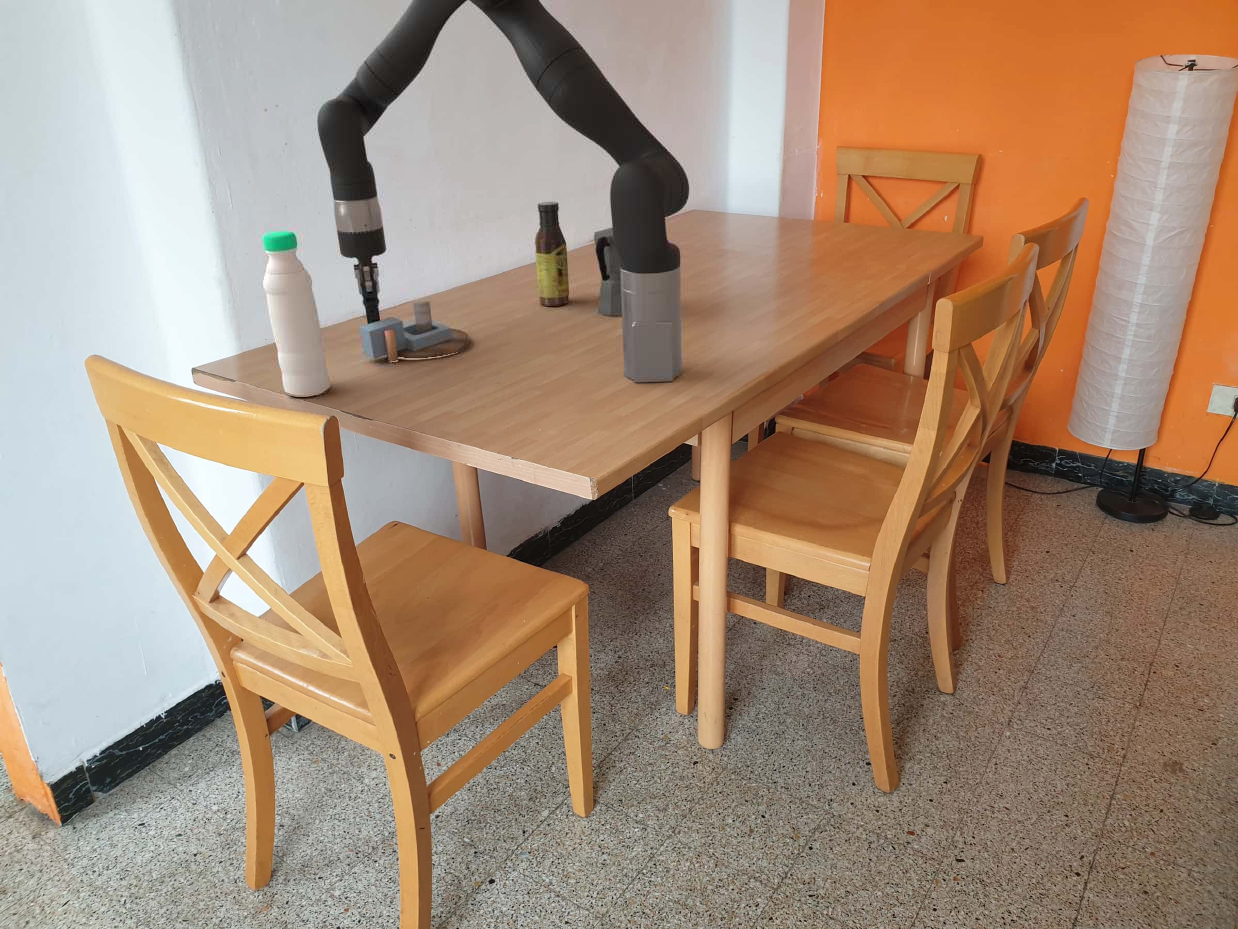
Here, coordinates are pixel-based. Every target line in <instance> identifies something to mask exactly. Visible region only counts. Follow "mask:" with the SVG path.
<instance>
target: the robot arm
mask: <svg viewBox="0 0 1238 929" xmlns="http://www.w3.org/2000/svg"><path fill="white" fill-rule="evenodd" d="M467 1H468V0H411V2H410V4H409V5H408V7H407V9H406V10H405V11H404V13H403V14H402V15H401V17H400V18H399V20H398V21H397V23H396V24H395V25H394V26H393V28H392V29H391V30H390V31H389V32H388V34H387V35H386V36H385V37H384V39H382V41H381V42H380V43H379V44H378V45H377V46H376V47H375V48H374V50H373V51H372V52H370V54H369V55H368V56H367V57H366V58H365V60H364V61H363V62H362V64H361V65H360V66H359V68H358V69H357V70H356V74H355V77H354V78H353V79H352V80H351V81H350V82H349V83H348V84H347V85H346V87H345V88H344V89H343V90H342V91H341V92H340V93H339V94H338V95H337V96H336V97H335V98H332V99H329V100H327V101H326V102H324V103H323V104H322V105H321V107H320V109H319V110H318V113H317V120H316V121H317V122H316V123H317V131H318V137H319V141H320V146H321V148H322V151H323V154H324V158H325V161H326V164H327V167H328V170H329V174H330V175H329V177H330V185H331V192H332V197H333V211H334V220H335V227H336V228H335V229H336V233H337V240H338V244H339V245H338V246H339V252H340V255H341V256H342V257H345V258H348V259H349V258H350V259H354V258H355V259H356V260H357V263H356V264H353V271H354V272H353V273H354V277H355V279H356V280H357V281H356V282H357V286H358V292H359V295H361V297H362V305H363V307H364V310H365V317H366V322H367V324H370V323H374V322H377V321H380V320H381V316H380V310H379V305H380V299H379V297H378V295H379V294H380V292H381V291H380V284H379V277H380V274H379V273H380V271H379V265H378V261H377V262H373V260H372V259H373V257H375V256H376V257H378V256H381V255H383V254H384V253H385V252H387V245H386V238H385V231H384V224H383V215H382V208H381V205H380V203H379V197H378V192H377V191H378V190H377V184H376V177H375V176H376V175H375V172H374V168H373V166H372V163H371V162H370V161H369V160H368V157H367V155H368V154H367V149H366V144H365V136H366V135H367V134H368V133H369V132H370V130H372V128H373V127H374V126H375V125H376V123H378V120H380V119H381V117H382V116H383V114H384V113H385V112H386V110H387V109H388V107H389V106H390V105H391V104H392V103H393V102H394V101H395V100H397V99H398V98H399V96H401V95H402V93H403V92H405V90H406V89H407V88H408V87H409V86H410V85H411V84H412V83H413V81H414V80H415V79H416V78H417V77H418V75H419V74H420V73H421V71H422V70H423V69H424V67H425V65H426V64H427V62H428V59H429V58H430V56H431V53H432V50H433V48H434V47H435V44H436V42H437V39H438V37H439V36H440V33H441V31H442V30H443V28H444V26H445V25H446V23H447V22H448V21H449V19H450V18H451V17H452V15H453V14H454V13H455V12H457V10H458V9H459V8H460V7H461V6H462V5H464V3H466V2H467ZM469 2H471V3H472V4H473V5H475V6H476V7H477V8H478V9H479V10H480V11H482V13H483V14H484V15H486V16H487V17H488V19H489V20H490V21H491V22H492V23H493V24H494V25H495V26H496V27H497V28H498V29H499V31H501V33H502V34H503V35H504V36H505V37H506V39H507V40H508V42H509V43H510V45H511V46H512V48H513V50H514V52H515V54H516V56H517V58H518V60H519V62H520V64H521V66H522V68H523V71H524V72H525V74H526V76H527V77H528V79H529V80H530V82H531V84H532V85H533V87H534V88H535V90H536V91H537V92H538V94H539V95H540V96H541V97H542V99H543V100H544V102H545V103H546V104H547V106H548V107H549V108H550V109H551V110H552V111H553V113H554V114H555V115H556V116H557V117H558V118H559V119H560V120H561V121H562V122H564V123H565V124H567V125H568V126H569V127H571V128H572V129H573V130H575V131H576V132H578V133H579V134H580V135H582V136H584V137H586V138H587V139H588V140H590V141H591V142H593V143H595V144H596V145H597V146H599V147H600V148H601V149H603V151H605V152H606V153H607V154H608V155H609V156H610V157H611V159H613V160H614V162H615V163H616V164H617V165H618V166H619V167H617V169H616V170H615V172H614V174H613V175H612V176H613V177H612V180H611V182H610V191H609V193H610V194H609V199H610V200H609V202H610V214H611V226H612V227H613V239H614V245H615V248H616V251H617V253H618V255H619V258H620V273H621V301H622V317H621V318H622V322H621V323H622V324H621V325H622V345H623V347H622V348H623V364H624V366H623V367H624V368H623V369H624V376H626V377H627V378H628V379H631V380H632V381H633V383H654V382H655V383H656V382H658V383H659V382H674V379H675V378H678V377H679V376H680V375H681V374H682V363H683V362H682V361H683V360H682V359H683V358H682V353H683V352H682V308H681V307H682V304H681V303H682V302H681V301H682V298H681V297H682V292H681V288H682V287H681V285H682V284H681V283H682V282H681V281H682V280H681V279H682V278H681V277H682V276H681V251H680V248H679V246H677V245H676V244H675V243H672V242H669V240H668V237H667V227H666V226H667V225H666V224H667V223H666V218H668V217H671V216H673V215H675V214H676V213H679V212H680V211H681V210H683V208H684V207H685V206H686V205H687V203H688V200H689V197H690V184H689V183H690V182H689V180H688V176H687V174H686V172H685V169H684V168H683V166H682V164H681V163H680V161H678V159H676V158H675V156H674V155H673V154H672V153H671V152H670V151H669V150H668V149H667V148H666V147H665V146H664V144H662V143H661V142H660V141H659V140H658V139H657V138H656V136H654V134H652V133H651V131H649V129H648V128H647V127H646V126H645V124H643V123H642V122H641V120H640V119H639V118H638V117H637V116H636V115H635V113H634V112H633V110H632V109H631V107H629V105H628V104H627V103H626V101H625V100H624V98H622V97H621V95H620V94H619V93H618V91H617V90H616V89H615V87H614V86H613V85H612V84H611V83H610V81H609V80H608V78H606V76H605V75H604V73H603V72H602V70H601V69H600V68H599V67H598V65H597V63H596V62H595V61H594V60H593V59H592V57H591V56H590V55H589V53H588V52H587V51H586V50H585V48H584V47H583V46H582V45H581V44H580V42H579V41H578V40H577V39H576V38H575V37H574V36H573V35H572V34H571V32H570V31H568V29H567V28H566V27H565V26H564V25H563V24H562V23H560V21H558V20H557V19H556V18H555V17H554V16H553V14H551V13H550V12H549V11H548V10H547V9H546V8H545V6H544V5H543V3H542V2H541V1H540V0H469ZM612 227H611V228H612Z"/></svg>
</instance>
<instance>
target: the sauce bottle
mask: <svg viewBox="0 0 1238 929" xmlns="http://www.w3.org/2000/svg"><path fill="white" fill-rule="evenodd" d="M559 210H560V207H559V202H557V201H543V202H539V203H537V211H538V213H539V214H538V215H539V217H538V218H539V228H538V232H536V235H535V238H534V239H535V241H534V244H535V264H536V265H535V266H536V279H537V281H536V282H537V293H538V294H537V295H538V298H539V299H538V301H539V304H540V305H542V306H545V307H557V306H562V305H566V304H567V303H568V302H569V300H570V298H569V296H570V284H569V281H570V280H569V268H568V266H569V265H568V253H567V252H568V248H567V242H566V238H565V236H564V233H563V232H562V230H561V226H560V222H559Z"/></svg>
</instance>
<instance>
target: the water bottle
mask: <svg viewBox="0 0 1238 929" xmlns="http://www.w3.org/2000/svg"><path fill="white" fill-rule="evenodd" d="M262 245H263V248H264V250H265V253H266V254H267V255H268V256H269V258H268V262H267V265H266V271H265V274H264V277H263V282H262V285H263V290H264V291H265V293H266V299H267V300H266V301H267V309H268V314H269V319H270V325H271V329H272V330H271V331H272V334H273V337H274V341H275V344H276V345H275V346H276V348H277V358H278V364H279V367H280V370H281V376H282V377H281V378H282V385H283V391H284V390H285V391H284V393H285V392H287V393H290V394H294V395H311V394H317V393H321V392H323V391H325V390H327V389H328V388H329V389H330V387H331V380H330V376H329V371H328V368H327V366H326V365H327V364H326V363H327V362H326V361H327V360H326V354H325V349H324V346H323V344H322V332H321V327H320V326H321V325H320V320H319V314H318V309H317V304H316V300H315V299H316V298H315V297H314V296H315V295H314V292H313V288H312V286H313V279H312V277H311V275H310V273H309V272H308V270H307V269H306V268H305V267H304V264H303V262H302V261H301V260H300V259H299V258H298V256H297V253H296V252H297V251H298V240H297V236H296V234H295V233H294V232H292V231H286V230H283V231H282V230H281V231H273V232H269V233H266V234H264V235H263V236H262ZM329 389H328V390H329ZM328 390H327V391H328Z"/></svg>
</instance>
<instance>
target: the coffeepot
mask: <svg viewBox="0 0 1238 929" xmlns="http://www.w3.org/2000/svg"><path fill="white" fill-rule="evenodd" d="M593 239H594V243H595V254H596V258H597V262H598V267H599V272H600V277H601V279H600V281H601V282H600V291H599V299H598V309H597V313H599V314H600V315H602V316H607V317H613V318H614V317H615V318H616V317H617V318H619V317H621V318H622V301H621V273H620V258H619V255H618V253H617V251H616V248H615V245H614V239H613V227H610V228H606V229H602V230H599V231H595V232H594V234H593Z"/></svg>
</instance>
